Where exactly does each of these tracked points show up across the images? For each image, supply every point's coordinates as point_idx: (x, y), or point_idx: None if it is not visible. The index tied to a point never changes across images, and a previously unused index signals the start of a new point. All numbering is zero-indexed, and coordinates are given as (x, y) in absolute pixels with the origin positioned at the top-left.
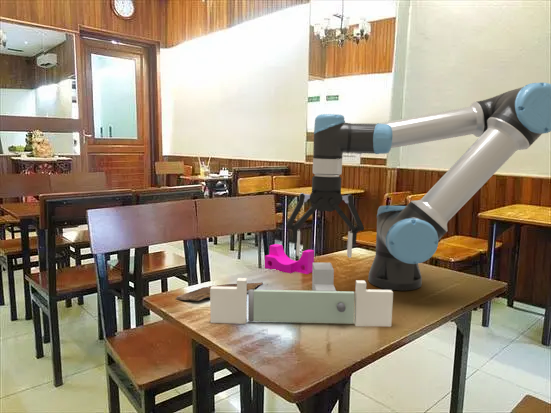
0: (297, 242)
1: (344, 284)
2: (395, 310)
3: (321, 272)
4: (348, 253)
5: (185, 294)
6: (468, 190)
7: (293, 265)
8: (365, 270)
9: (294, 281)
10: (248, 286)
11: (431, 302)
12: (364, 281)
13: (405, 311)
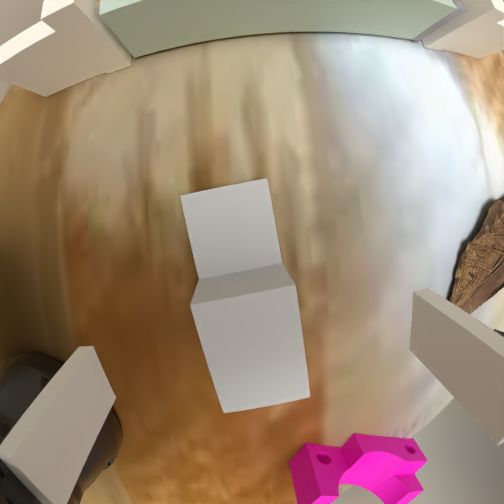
0: (481, 323)
1: (183, 400)
2: (24, 203)
3: (257, 287)
4: (87, 366)
5: None
6: None
7: (353, 457)
8: (152, 486)
9: (346, 387)
10: (470, 277)
11: None
12: (45, 7)
13: (7, 204)
